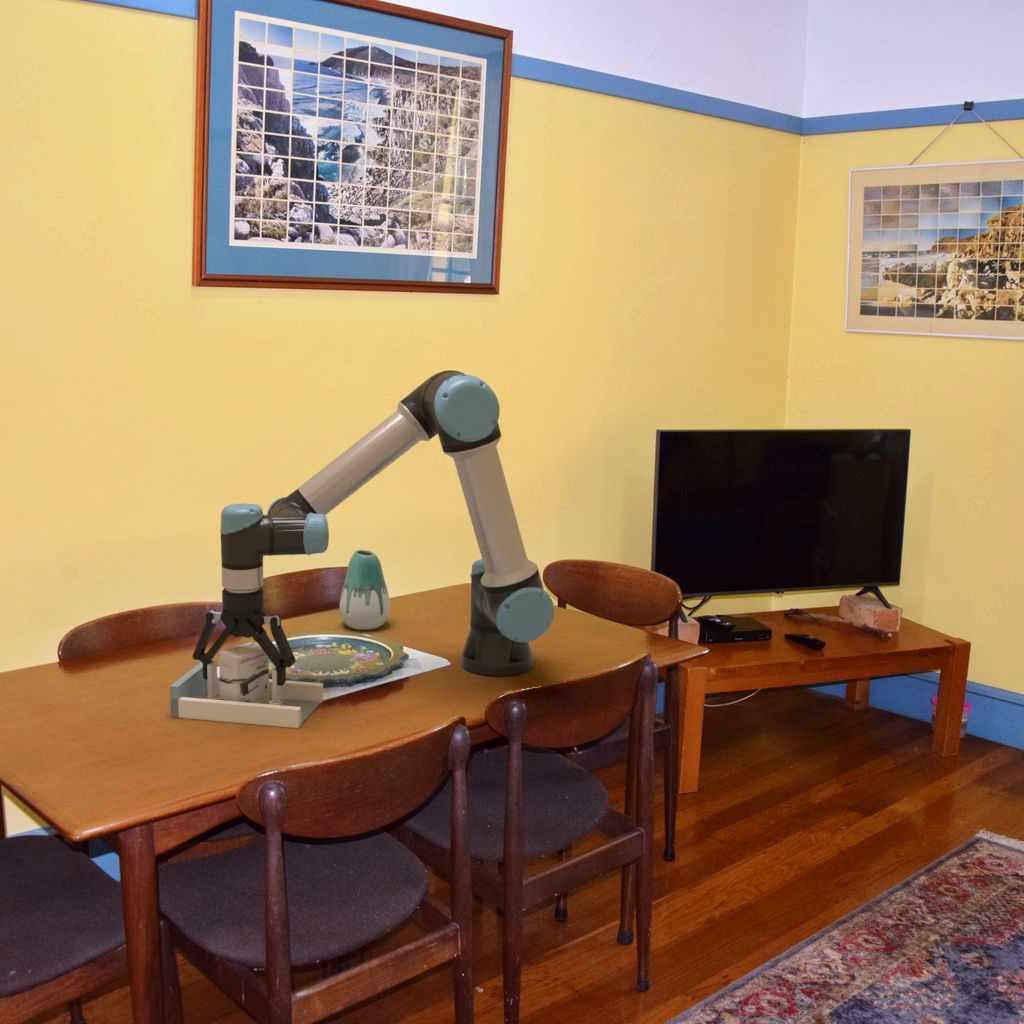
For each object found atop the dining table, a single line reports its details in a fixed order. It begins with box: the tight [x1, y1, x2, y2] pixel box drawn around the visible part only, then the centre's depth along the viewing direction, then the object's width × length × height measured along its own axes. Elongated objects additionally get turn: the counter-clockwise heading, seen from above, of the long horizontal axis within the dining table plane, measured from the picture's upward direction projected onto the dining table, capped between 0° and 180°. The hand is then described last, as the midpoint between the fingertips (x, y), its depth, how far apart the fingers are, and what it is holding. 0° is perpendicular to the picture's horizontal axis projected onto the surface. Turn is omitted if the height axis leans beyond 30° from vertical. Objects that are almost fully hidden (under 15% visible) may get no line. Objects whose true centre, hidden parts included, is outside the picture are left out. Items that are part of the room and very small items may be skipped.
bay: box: [169, 661, 324, 729], centre depth 227 cm, size 24×14×6 cm, turn 81°
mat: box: [279, 700, 321, 725], centre depth 227 cm, size 7×11×1 cm, turn 171°
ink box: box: [219, 641, 270, 704], centre depth 227 cm, size 8×5×12 cm, turn 148°
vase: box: [338, 549, 391, 631], centre depth 279 cm, size 12×12×18 cm
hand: (244, 698), depth 228 cm, fingers open, 12 cm apart
